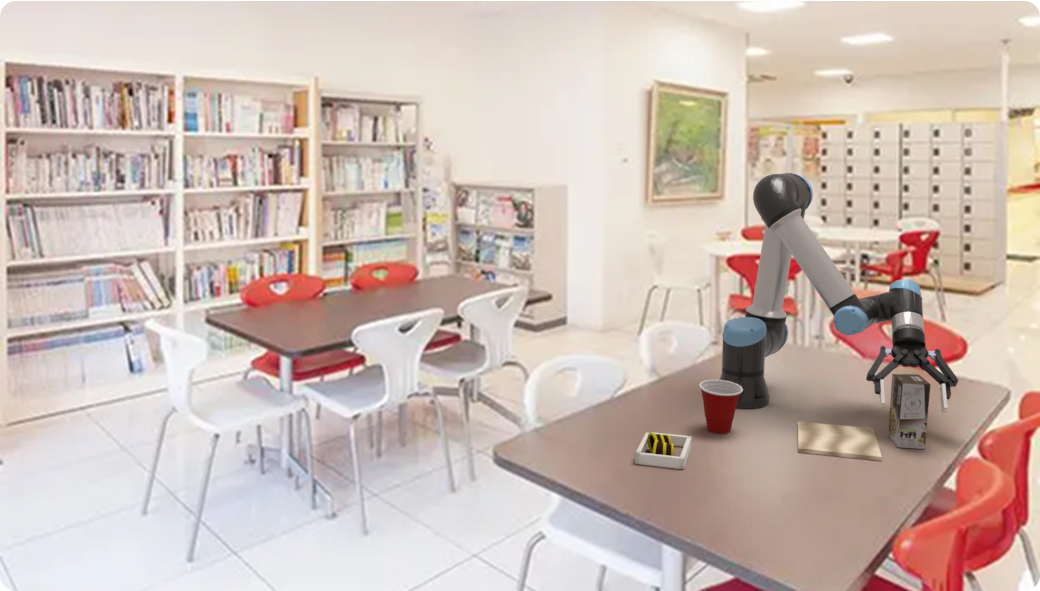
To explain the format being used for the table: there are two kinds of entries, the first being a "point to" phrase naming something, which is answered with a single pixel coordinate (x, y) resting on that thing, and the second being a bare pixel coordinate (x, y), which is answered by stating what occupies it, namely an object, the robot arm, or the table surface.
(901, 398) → the coffee box
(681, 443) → the white tray rim
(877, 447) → the birch board
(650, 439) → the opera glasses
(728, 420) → the plastic cup
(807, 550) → the table surface
